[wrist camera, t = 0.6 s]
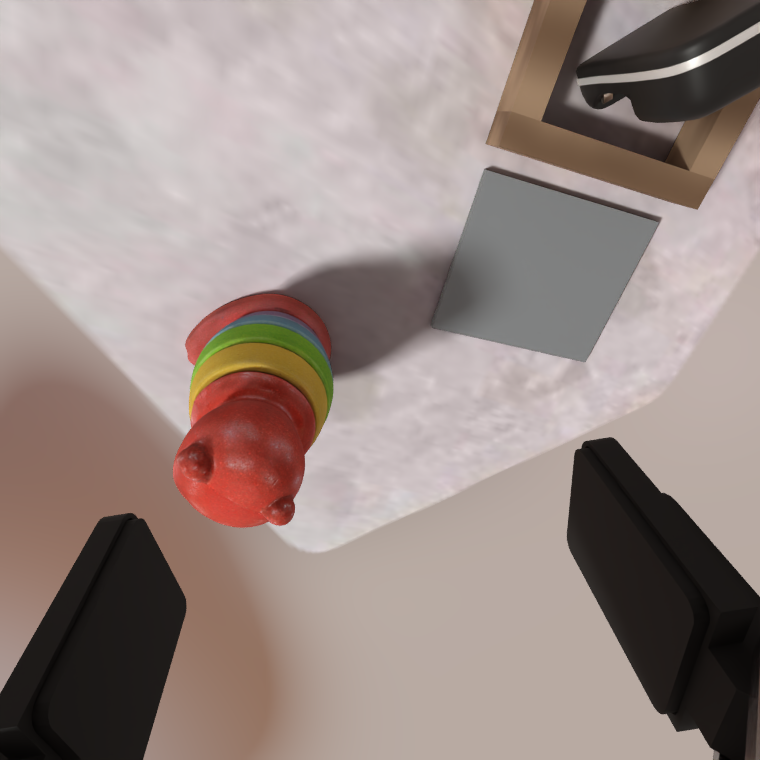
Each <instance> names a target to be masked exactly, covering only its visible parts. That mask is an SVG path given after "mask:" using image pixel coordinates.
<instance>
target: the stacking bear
mask: <svg viewBox="0 0 760 760" xmlns="http://www.w3.org/2000/svg"><path fill="white" fill-rule="evenodd" d="M185 346H186V349H187V352H188V360H189V361H190V362H191V363H192V364H193V365H195V367H194V370H193V374H192V379H191V385H190V396H189V415H190V421H191V429H190V431H189V432H188V434H187V435H186V437H185V438H184V440H183V442H182V444H181V446H180V447H179V449H178V452H177V454H176V457H175V460H174V466H173V476H174V481H175V484H176V486H177V488H178V489H179V491H180V493H181V494H182V495H183V497H185V498H186V499H187V500H188V501H189V503H190V504H191V505H192V506H193V507H194V508H195V509H196V510H197V511H199V512H200V513H202V514H203V515H204V516H206V517H208V518H210V519H212V520H214V521H216V522H218V523H220V524H224V525H228V526H232V527H253V526H258V525H261V524H264V523H266V522H271V523H272V524H275V525H279V526H281V525H286V524H287V523H289V522H290V521H291V519H292V518H293V516H294V513H295V504H294V502H293V499H294V497H295V496H296V494H297V492H298V491H299V489H300V486H301V484H302V480H303V476H304V470H305V456H304V455H305V454H306V452H307V451H308V450H309V448H310V447H311V446H312V444H313V443H314V442H315V440H316V438H317V437H318V435H319V433H320V431H321V429H322V427H323V425H324V423H325V421H326V419H327V416H328V413H329V410H330V407H331V403H332V398H333V374H332V369H331V365H330V362H329V361H330V355H331V342H330V337H329V333H328V331H327V329H326V326H325V324H324V323H323V321H322V320H321V318H320V317H319V316H318V315H317V314H316V313H315V312H314V311H313V310H312V309H311V308H310V307H308V306H307V305H305V304H304V303H302V302H300V301H298V300H296V299H294V298H291V297H288V296H284V295H279V294H260V295H254V296H249V297H245V298H242V299H238V300H235V301H233V302H230V303H228V304H226V305H224V306H222V307H220V308H218V309H216V310H215V311H213V312H212V313H210V314H209V315H208V316H206V317H205V318H204V319H203V320H202V321H201V322H200V323H199V324H198V325H197V326H196V327H195V328H194V329H193V330H192V332H191V333H190V334H189V336H188V338H187V340H186V344H185Z"/></svg>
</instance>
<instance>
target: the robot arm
mask: <svg viewBox="0 0 760 760" xmlns="http://www.w3.org/2000/svg"><path fill="white" fill-rule="evenodd" d="M567 541H568V546H569V549H570V551H571V553H572V555H573V557H574V559H575V561H576V563H577V565H578V566H579V568H580V570H581V572H582V574H583V576H584V578H585V579H586V581H587V583H588V585H589V587H590V589H591V591H592V593H593V594H594V596H595V598H596V600H597V602H598V604H599V605H600V607H601V609H602V611H603V613H604V615H605V617H606V619H607V620H608V622H609V624H610V626H611V628H612V630H613V632H614V633H615V635H616V637H617V639H618V641H619V643H620V645H621V647H622V648H623V650H624V652H625V654H626V656H627V658H628V660H629V662H630V663H631V665H632V667H633V669H634V671H635V673H636V674H637V676H638V678H639V680H640V682H641V684H642V686H643V688H644V689H645V691H646V693H647V695H648V697H649V699H650V701H651V703H652V704H653V706H654V708H655V709H656V710H657V711H658V712H659V713H660V714H667V715H668V717H669V718H670V720H671V722H672V724H673V726H674V727H675V729H676V731H677V732H679V731H685V730H692V729H698V728H699V729H700V731H701V733H702V735H703V736H704V738H705V740H706V741H707V743H708V745H709V746H710V748H712V749H713V750H714V755H713V760H760V597H759V595H757V593H756V592H755V591H754V590H753V589H752V587H751V586H750V585H749V584H748V583H747V582H746V581H745V580H744V578H743V577H741V575H740V574H739V573H738V571H737V570H736V569H735V568H734V567H733V566H732V565H731V563H730V562H729V561H728V560H727V559H726V558H725V557H724V555H723V554H722V553H721V552H720V551H719V550H718V549H717V548H716V546H714V544H713V543H712V542H711V541H710V539H709V538H708V537H707V536H706V535H705V534H704V533H703V532H702V530H701V529H700V528H699V527H698V526H697V525H696V523H695V522H694V521H693V520H692V519H691V518H690V516H689V515H688V514H687V513H686V512H685V511H684V510H683V509H682V507H681V506H680V505H679V504H678V503H677V502H676V501H675V500H674V499H673V498H672V497H671V496H669V495H667V494H665V493H661V492H660V491H659V490H658V488H657V487H656V486H655V485H654V484H653V483H652V481H651V480H650V479H649V478H648V477H647V476H646V475H645V473H644V472H643V471H642V470H641V469H640V467H639V466H638V465H637V464H636V463H635V462H634V460H633V459H632V458H631V457H630V456H629V454H628V453H627V452H626V451H625V450H624V449H623V447H622V446H621V445H620V444H619V443H618V442H617V441H616V440H615V439H614V438H611V437H609V438H603V439H597V440H590V441H585V442H584V443H583V444H582V448H581V449H577V450H576V451H575V455H574V465H573V476H572V487H571V497H570V507H569V518H568V528H567ZM185 613H186V599H185V596H184V594H183V592H182V590H181V588H180V586H179V584H178V583H177V581H176V579H175V577H174V575H173V573H172V571H171V569H170V567H169V565H168V563H167V561H166V560H165V558H164V556H163V554H162V552H161V550H160V548H159V546H158V544H157V542H156V541H155V539H154V537H153V535H152V533H151V531H150V529H149V527H148V526H147V523H146V522H145V520H144V519H138V518H137V517H136V516H135V515H134V514H133V513H127V514H121V515H114V516H108V517H103V518H102V519H100V521H99V522H98V523H97V525H96V527H95V528H94V530H93V532H92V534H91V535H90V537H89V539H88V541H87V542H86V544H85V546H84V548H83V549H82V551H81V553H80V555H79V557H78V558H77V560H76V562H75V563H74V565H73V567H72V569H71V570H70V572H69V574H68V576H67V577H66V579H65V581H64V583H63V585H62V586H61V588H60V590H59V591H58V593H57V595H56V597H55V599H54V600H53V602H52V604H51V605H50V607H49V609H48V611H47V612H46V615H45V616H44V618H43V620H42V621H41V623H40V625H39V627H38V628H37V630H36V632H35V634H34V635H33V637H32V639H31V641H30V642H29V644H28V646H27V648H26V649H25V651H24V653H23V655H22V656H21V658H20V660H19V662H18V663H17V665H16V667H15V669H14V671H13V672H12V674H11V676H10V677H9V679H8V681H7V683H6V684H5V686H4V688H3V690H2V691H1V693H0V760H143V757H144V754H145V751H146V747H147V744H148V740H149V737H150V734H151V730H152V727H153V723H154V720H155V716H156V713H157V710H158V706H159V703H160V699H161V696H162V693H163V689H164V686H165V682H166V679H167V675H168V672H169V669H170V665H171V662H172V658H173V655H174V651H175V648H176V645H177V641H178V638H179V635H180V631H181V628H182V624H183V621H184V617H185Z"/></svg>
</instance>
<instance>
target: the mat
mask: <svg viewBox="0 0 760 760" xmlns="http://www.w3.org/2000/svg"><path fill="white" fill-rule="evenodd" d="M658 224H659V222H656V221H653V220H650V219H647V218H643V217H640V216H637V215H634V214H630V213H627V212H624V211H620V210H617V209H614V208H611V207H607V206H604V205H601V204H597V203H594V202H591V201H588V200H584V199H581V198H578V197H574V196H571V195H568V194H565V193H561V192H558V191H555V190H551V189H548V188H545V187H542V186H538V185H535V184H532V183H528V182H525V181H522V180H518V179H515V178H512V177H509V176H505V175H502V174H499V173H495V172H492V171H489V170H486V169H484V172H483V175H482V178H481V181H480V183H479V186H478V189H477V192H476V195H475V198H474V201H473V204H472V207H471V210H470V212H469V215H468V218H467V221H466V224H465V227H464V230H463V233H462V236H461V239H460V241H459V244H458V247H457V250H456V253H455V256H454V259H453V262H452V265H451V268H450V270H449V273H448V276H447V279H446V282H445V285H444V288H443V291H442V294H441V297H440V299H439V302H438V305H437V308H436V311H435V314H434V317H433V320H432V323H431V327H432V328H435V329H439V330H444V331H448V332H453V333H457V334H462V335H466V336H470V337H475V338H479V339H484V340H488V341H493V342H497V343H501V344H506V345H510V346H515V347H519V348H524V349H528V350H532V351H537V352H541V353H546V354H550V355H555V356H559V357H563V358H568V359H572V360H577V361H581V362H586V360H587V358H588V356H589V354H590V353H591V351H592V349H593V347H594V345H595V343H596V341H597V339H598V337H599V335H600V334H601V332H602V330H603V328H604V326H605V324H606V322H607V320H608V318H609V317H610V315H611V313H612V311H613V309H614V307H615V305H616V303H617V301H618V300H619V298H620V296H621V294H622V292H623V290H624V288H625V286H626V284H627V283H628V281H629V279H630V277H631V275H632V273H633V271H634V269H635V267H636V265H637V264H638V262H639V260H640V258H641V256H642V254H643V252H644V250H645V248H646V247H647V245H648V243H649V241H650V239H651V237H652V235H653V233H654V231H655V230H656V228H657V226H658Z"/></svg>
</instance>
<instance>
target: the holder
mask: <svg viewBox="0 0 760 760" xmlns="http://www.w3.org/2000/svg"><path fill="white" fill-rule="evenodd" d="M586 1H587V0H534V3H533V6H532V8H531V11H530V14H529V17H528V20H527V23H526V26H525V29H524V32H523V35H522V38H521V41H520V44H519V47H518V50H517V53H516V56H515V59H514V62H513V65H512V68H511V71H510V74H509V76H508V79H507V82H506V85H505V88H504V91H503V94H502V97H501V100H500V103H499V106H498V109H497V112H496V115H495V118H494V121H493V124H492V127H491V130H490V133H489V136H488V139H487V142H486V144H488V145H491V146H494V147H497V148H500V149H503V150H507V151H510V152H513V153H516V154H519V155H522V156H526V157H529V158H532V159H535V160H538V161H541V162H545V163H548V164H551V165H554V166H557V167H560V168H564V169H567V170H570V171H573V172H576V173H579V174H583V175H586V176H589V177H592V178H595V179H598V180H602V181H605V182H608V183H611V184H614V185H617V186H621V187H624V188H627V189H630V190H633V191H636V192H640V193H643V194H646V195H649V196H652V197H655V198H659V199H662V200H665V201H668V202H671V203H675V204H679V205H682V206H686V207H690V208H693V209H697V210H698V208H699V206H700V204H701V202H702V201H703V199H704V197H705V195H706V194H707V192H708V190H709V188H710V186H711V185H712V183H713V181H714V179H715V177H716V176H717V174H718V172H719V170H720V168H721V167H722V165H723V163H724V161H725V159H726V158H727V156H728V154H729V152H730V151H731V149H732V147H733V145H734V143H735V142H736V140H737V138H738V136H739V134H740V133H741V131H742V129H743V127H744V125H745V124H746V122H747V120H748V118H749V116H750V115H751V113H752V111H753V109H754V108H755V106H756V104H757V102H758V100H759V99H760V87H759V88H757V89H755V90H754V91H752V92H750V93H748V94H747V95H745V96H743V97H741V98H739V99H738V100H736V101H734V102H732V103H730V104H729V105H727V106H725V107H723V108H721V109H720V110H718V111H716V112H714V113H712V114H710V115H708V116H706V117H703V118H700V119H696V120H689V121H685V123H684V125H683V127H682V129H681V131H680V133H679V135H678V137H677V139H676V141H675V143H674V145H673V146H672V148H671V150H670V152H669V154H668V156H667V158H666V160H665V162H661V161H658V160H655V159H652V158H649V157H646V156H643V155H640V154H637V153H634V152H631V151H628V150H625V149H622V148H619V147H616V146H613V145H610V144H607V143H604V142H601V141H598V140H595V139H592V138H589V137H586V136H583V135H581V134H578V133H575V132H572V131H569V130H566V129H563V128H560V127H557V126H554V125H551V124H548V123H545V122H542V121H541V120H542V117H543V114H544V112H545V109H546V106H547V104H548V101H549V99H550V96H551V93H552V91H553V88H554V85H555V83H556V80H557V77H558V75H559V72H560V70H561V67H562V64H563V62H564V59H565V56H566V54H567V51H568V48H569V46H570V43H571V41H572V38H573V35H574V33H575V30H576V27H577V25H578V22H579V19H580V17H581V14H582V12H583V9H584V6H585V4H586Z"/></svg>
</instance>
